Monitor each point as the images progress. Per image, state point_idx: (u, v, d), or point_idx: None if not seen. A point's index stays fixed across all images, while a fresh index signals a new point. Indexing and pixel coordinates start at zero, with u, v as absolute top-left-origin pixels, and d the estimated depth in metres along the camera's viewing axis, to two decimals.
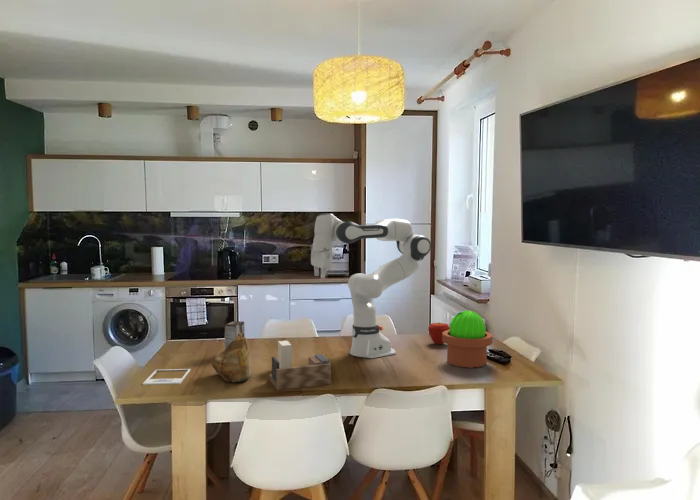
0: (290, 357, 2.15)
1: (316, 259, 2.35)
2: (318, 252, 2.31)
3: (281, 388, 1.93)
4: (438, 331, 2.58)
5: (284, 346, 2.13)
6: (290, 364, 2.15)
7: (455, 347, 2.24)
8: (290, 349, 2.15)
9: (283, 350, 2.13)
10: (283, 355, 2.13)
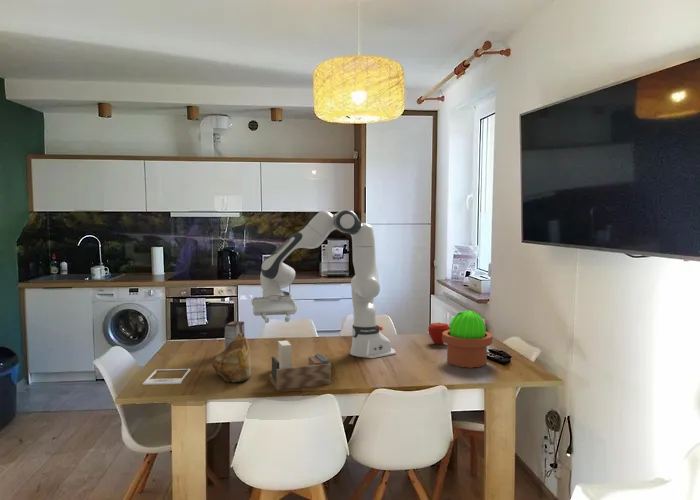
0: (290, 357, 2.15)
1: None
2: None
3: (281, 388, 1.93)
4: (438, 331, 2.58)
5: (284, 346, 2.13)
6: (290, 364, 2.15)
7: (455, 347, 2.24)
8: (290, 349, 2.15)
9: (283, 350, 2.13)
10: (283, 355, 2.13)
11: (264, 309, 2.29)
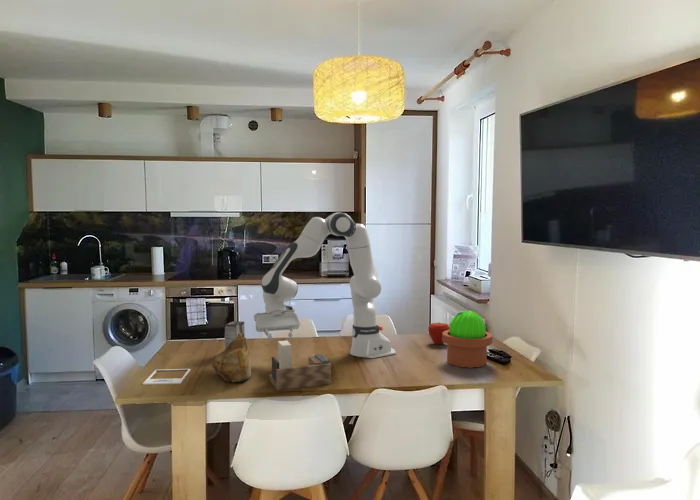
0: (290, 357, 2.15)
1: None
2: None
3: (281, 388, 1.93)
4: (438, 331, 2.58)
5: (284, 346, 2.13)
6: (290, 364, 2.15)
7: (455, 347, 2.24)
8: (290, 349, 2.15)
9: (283, 350, 2.13)
10: (283, 355, 2.13)
11: (266, 325, 2.24)
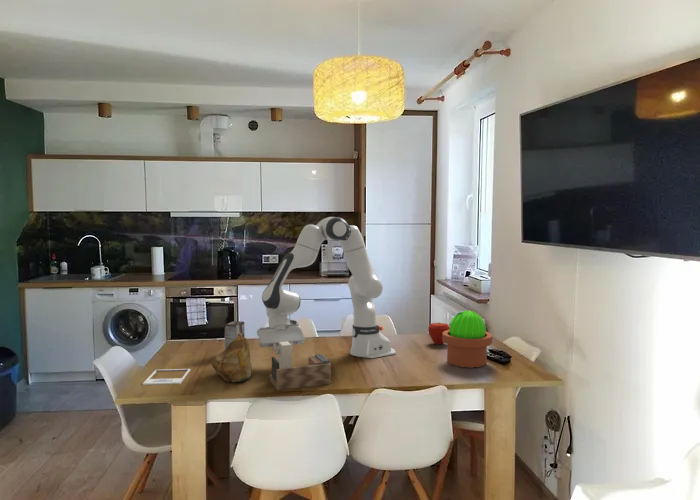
0: (290, 357, 2.15)
1: None
2: None
3: (281, 388, 1.93)
4: (438, 331, 2.58)
5: (284, 346, 2.13)
6: (290, 364, 2.15)
7: (455, 347, 2.24)
8: (290, 349, 2.15)
9: (283, 350, 2.13)
10: (283, 355, 2.13)
11: (270, 341, 2.18)
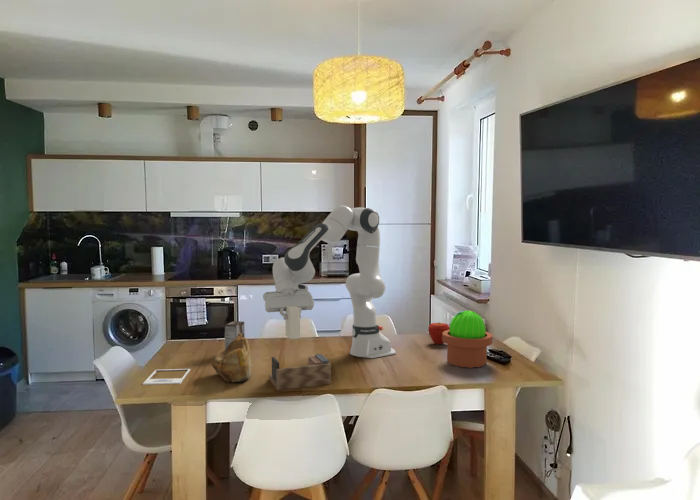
0: (298, 322, 2.00)
1: None
2: None
3: (281, 388, 1.93)
4: (438, 331, 2.58)
5: (292, 310, 1.98)
6: (298, 329, 2.00)
7: (455, 347, 2.24)
8: (299, 313, 1.99)
9: (291, 314, 1.98)
10: (291, 320, 1.98)
11: (277, 305, 2.03)
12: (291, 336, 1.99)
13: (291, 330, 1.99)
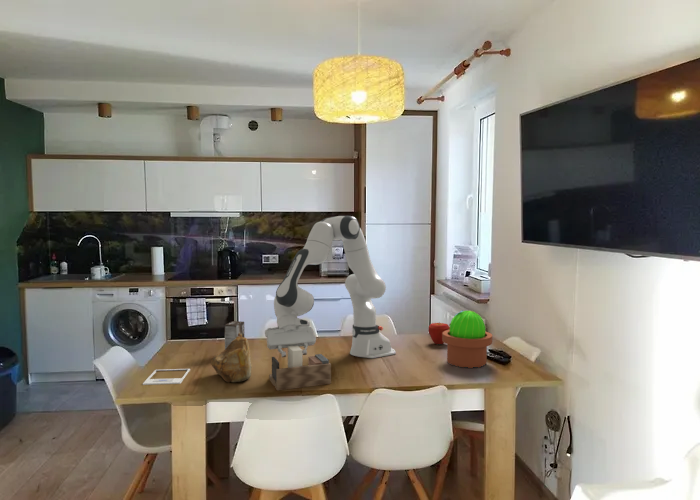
0: (301, 363, 1.99)
1: None
2: None
3: (281, 388, 1.93)
4: (438, 331, 2.58)
5: (294, 351, 1.98)
6: None
7: (455, 347, 2.24)
8: (301, 354, 1.99)
9: (294, 356, 1.98)
10: (293, 361, 1.98)
11: (279, 342, 2.02)
12: None
13: None
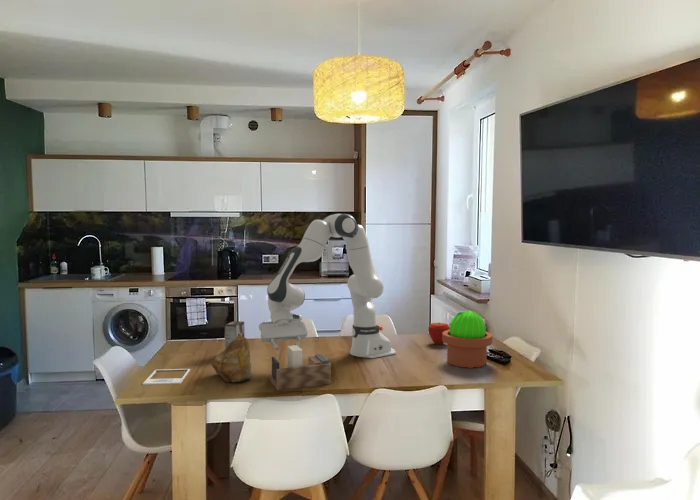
0: (301, 363, 1.99)
1: None
2: None
3: (281, 388, 1.93)
4: (438, 331, 2.58)
5: (294, 351, 1.98)
6: None
7: (455, 347, 2.24)
8: (301, 354, 1.99)
9: (294, 356, 1.98)
10: (293, 361, 1.98)
11: (272, 335, 2.14)
12: None
13: None
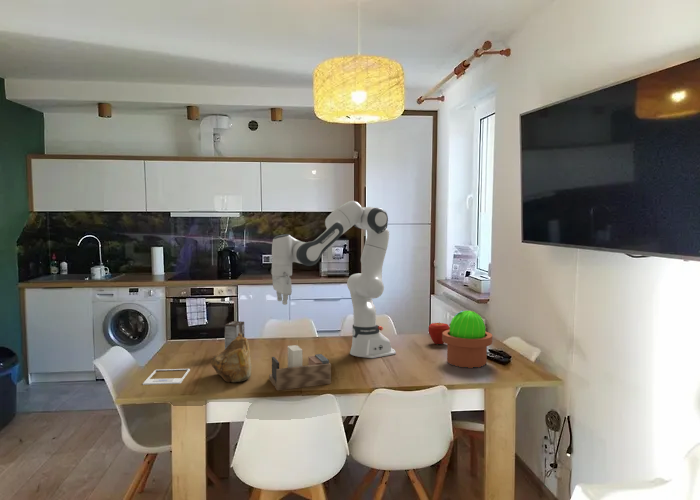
0: (301, 363, 1.99)
1: (277, 284, 2.20)
2: (278, 277, 2.17)
3: (281, 388, 1.93)
4: (438, 331, 2.58)
5: (294, 351, 1.98)
6: None
7: (455, 347, 2.24)
8: (301, 354, 1.99)
9: (294, 356, 1.98)
10: (293, 361, 1.98)
11: None
12: None
13: None
